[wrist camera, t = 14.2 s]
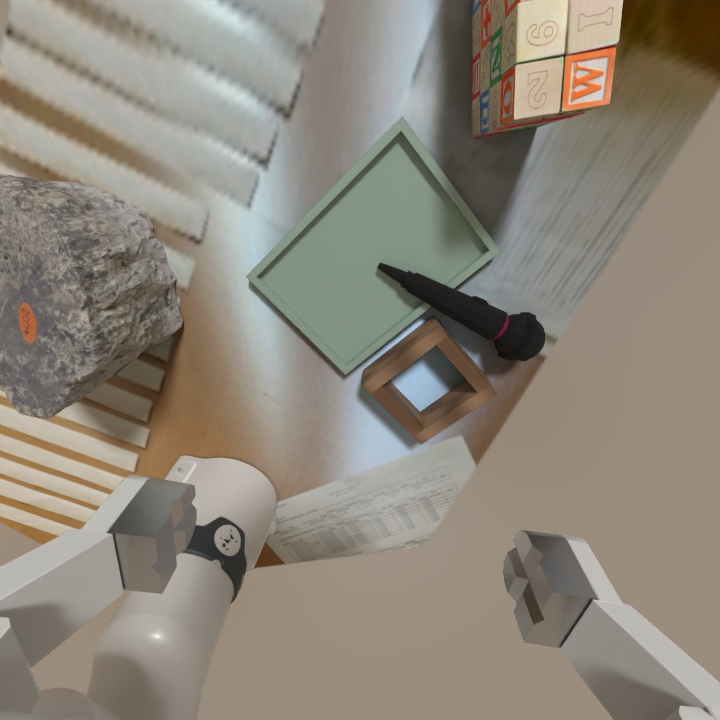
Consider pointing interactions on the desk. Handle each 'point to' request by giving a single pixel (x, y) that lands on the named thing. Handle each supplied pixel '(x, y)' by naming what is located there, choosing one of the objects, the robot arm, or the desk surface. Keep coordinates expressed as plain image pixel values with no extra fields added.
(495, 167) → the desk surface
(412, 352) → the holder
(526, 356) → the microphone
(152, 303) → the petrified wood
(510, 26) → the stack of blocks
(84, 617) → the robot arm
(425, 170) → the tray
